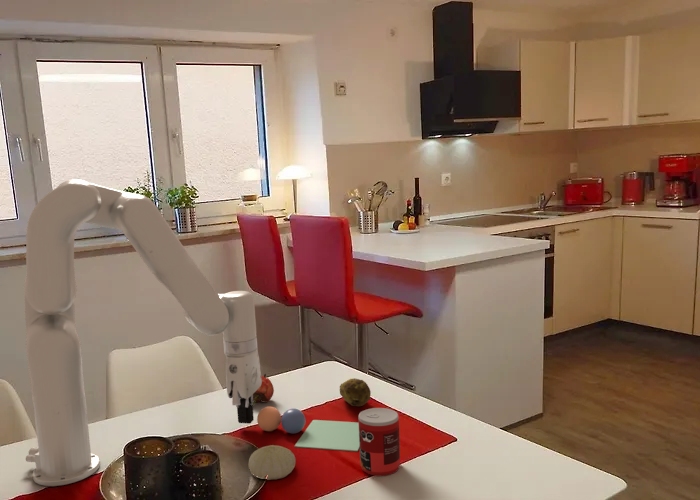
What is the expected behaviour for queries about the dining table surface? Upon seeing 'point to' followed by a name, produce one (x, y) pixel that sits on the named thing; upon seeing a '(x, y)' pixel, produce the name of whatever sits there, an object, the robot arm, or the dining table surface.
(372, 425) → the canned food
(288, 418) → the blue ball
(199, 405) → the dining table surface
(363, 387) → the potato
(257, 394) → the pomegranate
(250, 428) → the dining table surface
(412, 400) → the dining table surface
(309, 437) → the green mark
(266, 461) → the sea urchin shell
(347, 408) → the dining table surface
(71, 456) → the robot arm
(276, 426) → the peach ball
